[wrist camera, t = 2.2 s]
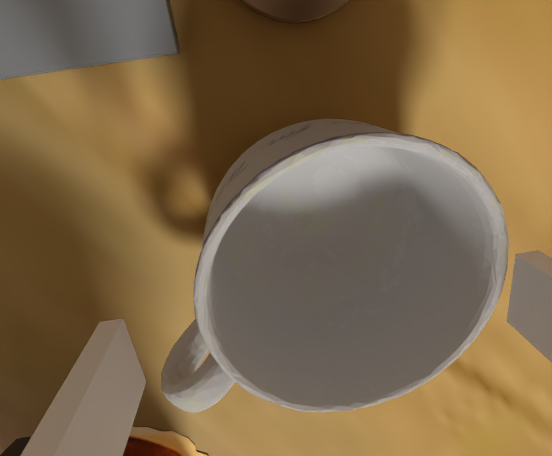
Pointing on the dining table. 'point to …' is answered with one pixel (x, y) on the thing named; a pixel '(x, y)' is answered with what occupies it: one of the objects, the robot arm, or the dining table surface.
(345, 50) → the dining table surface
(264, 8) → the brown rounded upright piece
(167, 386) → the teacup
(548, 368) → the dining table surface
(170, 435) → the vessel
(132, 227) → the dining table surface
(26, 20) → the pad
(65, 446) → the robot arm
